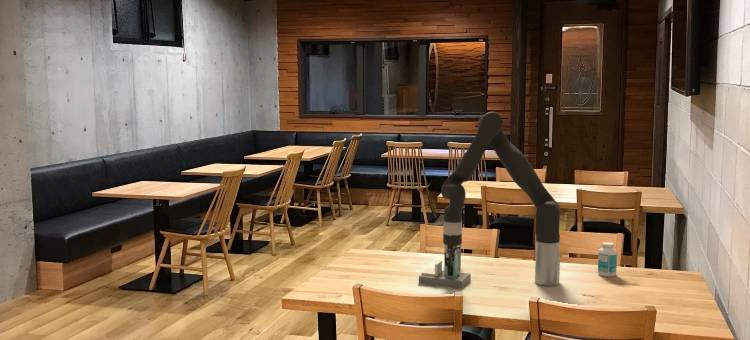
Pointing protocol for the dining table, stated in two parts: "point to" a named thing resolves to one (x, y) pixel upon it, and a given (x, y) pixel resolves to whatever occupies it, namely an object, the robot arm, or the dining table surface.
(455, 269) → the teal flat-sided block
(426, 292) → the dining table surface
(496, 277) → the dining table surface
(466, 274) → the socket block
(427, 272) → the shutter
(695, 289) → the dining table surface
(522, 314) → the dining table surface
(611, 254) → the pill bottle
